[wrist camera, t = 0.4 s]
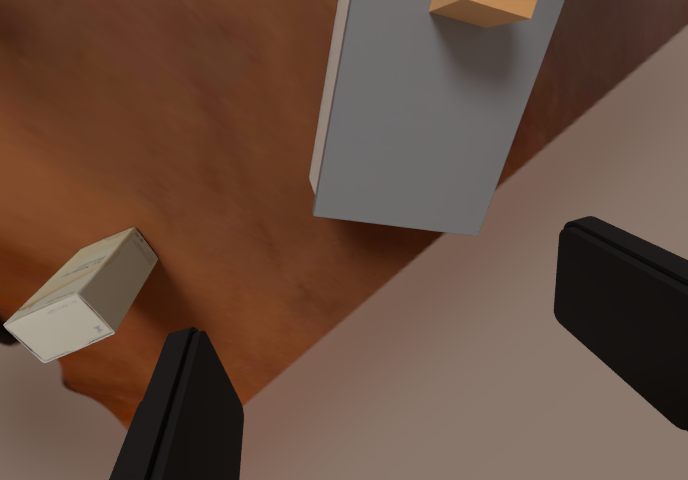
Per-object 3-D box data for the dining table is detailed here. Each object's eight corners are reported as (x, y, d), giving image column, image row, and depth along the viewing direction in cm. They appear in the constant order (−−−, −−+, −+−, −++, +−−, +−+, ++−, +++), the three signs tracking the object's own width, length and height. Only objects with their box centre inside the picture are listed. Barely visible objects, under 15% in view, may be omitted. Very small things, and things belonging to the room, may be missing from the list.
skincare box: (135, 225, 37) (79, 289, 26) (160, 260, 39) (118, 333, 28) (78, 249, 37) (-3, 324, 26) (106, 283, 39) (42, 365, 28)
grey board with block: (357, -66, 24) (389, -116, 18) (547, -4, 28) (631, -27, 21) (310, 206, 31) (321, 241, 25) (466, 227, 35) (510, 262, 28)
